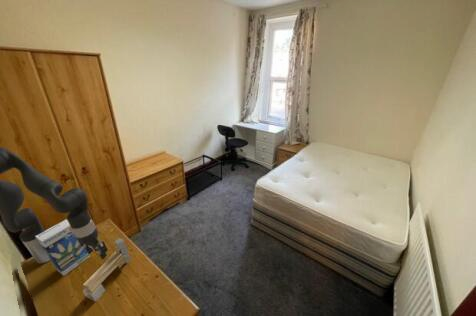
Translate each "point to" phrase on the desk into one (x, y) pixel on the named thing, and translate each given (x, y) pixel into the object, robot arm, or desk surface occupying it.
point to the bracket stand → (124, 259)
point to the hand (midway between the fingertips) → (97, 254)
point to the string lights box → (62, 247)
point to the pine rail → (102, 272)
